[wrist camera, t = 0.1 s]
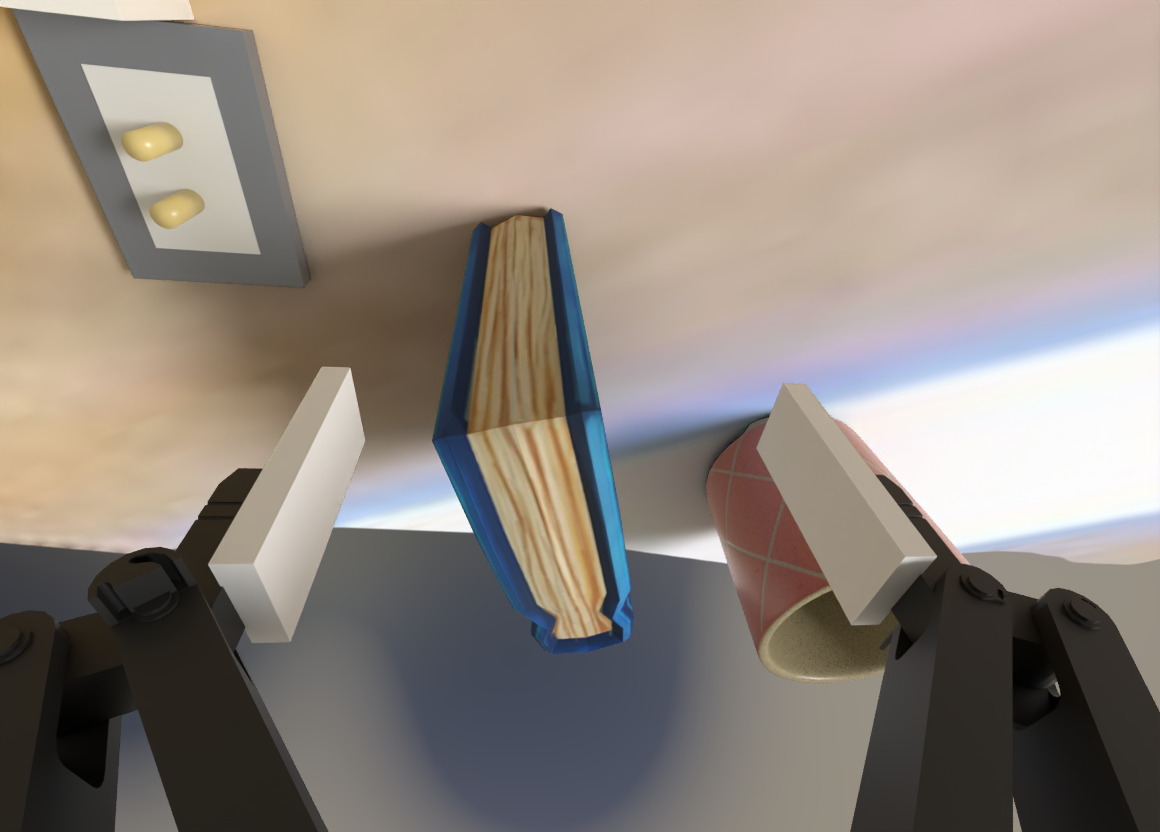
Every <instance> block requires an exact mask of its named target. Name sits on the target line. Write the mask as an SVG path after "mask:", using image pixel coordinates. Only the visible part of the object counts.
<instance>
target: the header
mask: <svg viewBox="0 0 1160 832" xmlns="http://www.w3.org/2000/svg"><path fill="white" fill-rule="evenodd" d="M11 9H12V11H13V13H14V16H15V18H16V20H17V22H18V24H19V27H20V29H21V31H22V33H23V35H24V38H25V40H26V42H27V44H28V46H29V49H30V51H31V53H32V55H33V57H34V60H35V62H36V64H37V66H38V68H39V71H40V73H41V75H42V77H43V79H44V82H45V84H46V86H47V88H48V91H49V93H50V95H51V97H52V99H53V102H54V104H55V106H56V108H57V110H58V113H59V115H60V117H61V119H62V121H63V124H64V126H65V128H66V130H67V132H68V135H69V137H70V139H71V141H72V143H73V146H74V148H75V150H76V152H77V154H78V157H79V159H80V161H81V163H82V165H83V168H84V170H85V172H86V174H87V176H88V179H89V181H90V183H91V185H92V188H93V190H94V192H95V194H96V196H97V199H98V201H99V203H100V205H101V207H102V210H103V212H104V214H105V216H106V218H107V221H108V223H109V225H110V227H111V229H112V232H113V234H114V236H115V238H116V240H117V243H118V245H119V247H120V249H121V251H122V254H123V256H124V258H125V260H126V262H127V265H128V267H129V269H130V271H131V274H132V276H133V278H139V279H157V280H175V281H192V282H210V283H228V284H246V285H264V286H282V287H299V288H304V287H305V286H306V285H307V284H308V282H309V281H310V275H309V271H308V267H307V262H306V258H305V254H304V249H303V245H302V241H301V236H300V232H299V228H298V224H297V219H296V215H295V211H294V206H293V202H292V198H291V193H290V189H289V185H288V180H287V176H286V172H285V168H284V163H283V159H282V155H281V150H280V146H279V142H278V137H277V133H276V129H275V124H274V120H273V116H272V112H271V107H270V103H269V99H268V94H267V90H266V86H265V81H264V77H263V73H262V68H261V64H260V60H259V56H258V51H257V47H256V43H255V38H254V34H253V30H244V29H235V28H227V27H218V26H210V25H201V24H192V23H184V22H175V21H167V20H139V21H120V20H111V19H103V18H94V17H85V16H77V15H68V14H59V13H50V12H42V11H33V10H24V9H16V8H11Z"/></svg>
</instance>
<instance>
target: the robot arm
mask: <svg viewBox="0 0 1160 832" xmlns="http://www.w3.org/2000/svg"><path fill="white" fill-rule="evenodd" d="M364 443H365V437H364V432H363V427H362V422H361V417H360V412H359V408H358V403H357V398H356V393H355V388H354V383H353V379H352V374H351V369H350V368H349V367H321V369H320V371H319V372H318V374H317V376H316V377H315V379H314V381H313V383H312V384H311V386H310V388H309V390H308V391H307V393H306V395H305V397H304V398H303V400H302V402H301V404H300V405H299V407H298V409H297V411H296V412H295V414H294V416H293V417H292V419H291V421H290V423H289V424H288V426H287V428H286V430H285V431H284V433H283V435H282V437H281V438H280V440H279V442H278V444H277V445H276V447H275V449H274V451H273V452H272V454H271V456H270V457H269V459H268V461H267V463H266V464H265V466H264V468H263V469H249V468H239V469H237V470H236V471H235V472H234V473H232V474H231V475H230V476H228V477H227V478H226V479H225V480H223V481H222V482H221V483H220V484H219V485H218V486H217V488H216V490H215V491H214V493H213V494H212V496H211V497H210V499H209V500H208V505H205V506H204V508H203V510H202V511H201V513H200V514H199V516H198V520H195V522H194V523H193V525H192V526H191V528H190V530H189V531H188V533H187V534H186V536H185V537H184V539H183V540H182V542H181V543H180V545H179V546H178V548H177V550H176V551H174V550H171V549H167V548H163V547H155V548H144V549H141V550H138V551H135V552H132V553H129V554H126V555H124V556H123V557H121V558H119V559H117V560H115V561H114V562H112V563H110V564H109V565H108V566H107V567H106V568H104V569H103V570H102V571H101V572H100V573H99V574H98V575H97V576H96V577H95V579H94V580H93V582H92V584H91V585H90V587H89V588H88V601H89V603H90V604H91V605H92V606H93V607H94V608H95V610H96V611H97V613H93V614H89V615H86V616H82V617H78V618H74V619H70V620H67V621H63V622H59V623H58V622H57V621H56V620H55V619H54V618H53V617H51V616H50V615H48V614H47V613H46V612H42V611H25V612H20V613H15V614H11V615H8V616H6V617H4V618H1V619H0V832H115V831H114V830H115V815H116V799H117V783H118V767H119V751H120V735H121V719H122V715H123V714H126V713H129V712H132V711H135V710H138V711H139V714H140V717H141V720H142V723H143V726H144V729H145V732H146V735H147V738H148V741H149V744H150V747H151V750H152V753H153V756H154V759H155V762H156V765H157V768H158V771H159V774H160V777H161V780H162V783H163V786H164V789H165V792H166V795H167V798H168V801H169V804H170V807H171V810H172V813H173V816H174V819H175V822H176V825H177V828H178V831H179V832H328V830H327V828H326V826H325V824H324V822H323V820H322V819H321V816H320V814H319V812H318V810H317V808H316V806H315V804H314V802H313V800H312V798H311V796H310V794H309V792H308V790H307V788H306V786H305V784H304V782H303V780H302V778H301V776H300V774H299V772H298V770H297V768H296V766H295V764H294V762H293V760H292V758H291V756H290V754H289V752H288V750H287V748H286V746H285V744H284V742H283V740H282V738H281V736H280V734H279V732H278V730H277V728H276V726H275V724H274V722H273V720H272V718H271V716H270V714H269V712H268V710H267V708H266V706H265V704H264V702H263V700H262V698H261V696H260V694H259V692H258V690H257V688H256V686H255V684H254V682H253V680H252V678H251V676H250V674H249V672H248V670H247V668H246V666H245V664H244V662H243V660H242V658H241V656H240V654H239V652H238V650H237V649H236V647H237V645H238V642H239V640H240V637H241V636H242V634H243V631H244V629H245V631H246V633H247V634H248V636H249V638H250V640H251V642H252V643H270V642H291V639H292V636H293V633H294V631H295V628H296V625H297V623H298V620H299V617H300V615H301V612H302V609H303V607H304V604H305V601H306V599H307V596H308V593H309V590H310V588H311V585H312V583H313V580H314V577H315V575H316V572H317V569H318V566H319V564H320V561H321V559H322V556H323V553H324V551H325V548H326V545H327V542H328V540H329V537H330V534H331V532H332V529H333V526H334V524H335V521H336V518H337V516H338V513H339V510H340V508H341V505H342V502H343V500H344V497H345V494H346V491H347V489H348V486H349V483H350V481H351V478H352V475H353V473H354V470H355V467H356V465H357V462H358V459H359V457H360V454H361V451H362V449H363V446H364ZM757 450H758V452H759V454H760V456H761V458H762V460H763V461H764V463H765V465H766V467H767V469H768V471H769V473H770V475H771V476H772V478H773V480H774V482H775V484H776V486H777V488H778V489H779V491H780V493H781V495H782V497H783V499H784V501H785V502H786V504H787V506H788V508H789V510H790V512H791V514H792V516H793V517H794V519H795V521H796V523H797V525H798V527H799V529H800V530H801V532H802V534H803V536H804V538H805V540H806V542H807V544H808V545H809V547H810V549H811V551H812V553H813V555H814V557H815V558H816V560H817V562H818V564H819V566H820V568H821V570H822V571H823V573H824V575H825V577H826V579H827V581H828V583H829V585H830V586H831V588H832V590H833V592H834V594H835V596H836V598H837V599H838V601H839V603H840V605H841V607H842V609H843V611H844V613H845V614H846V616H847V618H848V620H849V622H850V624H851V625H879V624H880V623H881V622H882V621H883V620H884V619H885V617H886V616H887V615H888V614H889V613H890V612H891V611H892V612H893V614H894V615H895V617H896V619H897V620H898V622H899V624H898V625H897V626H896V627H895V628H894V629H893V630H892V632H891V633H890V634H889V635H888V636H887V637H886V638H885V639H884V641H883V642H882V643H881V645H880V646H879V649H881V650H884V649H885V648H886V647H887V646H888V645H890V647H889V652H888V657H887V662H886V666H885V671H884V676H883V681H882V685H881V690H880V695H879V700H878V704H877V709H876V713H875V718H874V723H873V728H872V732H871V737H870V742H869V747H868V751H867V756H866V760H865V766H864V770H863V775H862V780H861V784H860V789H859V793H858V798H857V803H856V808H855V812H854V817H853V822H852V827H851V831H850V832H1013V798H1014V802H1015V805H1016V809H1017V813H1018V817H1019V821H1020V825H1021V829H1022V832H1160V712H1159V710H1158V708H1157V706H1156V704H1155V702H1154V700H1153V698H1152V696H1151V694H1150V692H1149V690H1148V688H1147V686H1146V684H1145V682H1144V680H1143V678H1142V676H1141V674H1140V672H1139V670H1138V668H1137V666H1136V664H1135V662H1134V660H1133V658H1132V657H1131V655H1130V652H1129V650H1128V648H1127V647H1126V645H1125V643H1124V641H1123V639H1122V637H1121V635H1120V633H1119V631H1118V629H1117V627H1116V625H1115V624H1114V622H1113V621H1112V620H1111V618H1110V617H1109V616H1108V615H1107V614H1106V613H1105V612H1104V611H1103V610H1102V609H1101V608H1100V607H1099V606H1098V605H1096V604H1095V603H1093V602H1092V601H1090V600H1089V599H1087V598H1086V597H1084V596H1082V595H1080V594H1078V593H1075V592H1073V591H1070V590H1066V589H1061V588H1056V589H1050V590H1049V591H1047V592H1046V593H1045V594H1044V595H1043V596H1042V597H1041V598H1040V599H1035V598H1031V597H1027V596H1024V595H1020V594H1016V593H1012V592H1008V591H1006V589H1005V588H1004V587H1003V585H1002V584H1000V582H998V581H997V580H996V579H995V578H994V577H993V576H991V575H990V574H988V573H986V572H985V571H983V570H981V569H980V568H977V567H974V566H971V565H968V564H961V563H960V561H959V560H958V559H957V558H956V556H955V555H954V554H953V553H952V551H951V550H950V549H949V548H948V546H947V545H946V544H945V543H944V541H943V540H942V539H941V538H940V536H939V535H938V534H937V533H936V531H935V530H934V529H933V528H932V526H931V525H930V524H929V523H928V521H927V520H926V519H923V515H922V514H921V512H920V511H919V510H918V509H917V507H916V506H913V502H912V501H911V500H910V499H909V497H908V496H907V495H906V494H905V492H904V491H903V490H902V489H901V488H900V487H899V486H898V485H896V484H895V483H894V482H893V481H891V480H890V479H889V478H887V477H886V476H885V475H875V474H874V473H873V472H872V470H871V469H870V468H869V466H868V465H867V464H866V462H865V461H864V460H863V458H862V457H861V456H860V455H859V453H858V452H857V451H856V449H855V448H854V447H853V445H852V444H851V443H850V441H849V440H848V439H847V437H846V436H845V435H844V434H843V432H842V431H841V430H840V428H839V427H838V426H837V424H836V423H835V422H834V420H833V419H832V418H831V417H830V415H829V414H828V413H827V411H826V410H825V409H824V407H823V406H822V405H821V403H820V402H819V401H818V399H817V398H816V397H815V396H814V394H813V393H812V392H811V390H810V389H809V388H808V386H807V385H806V384H793V383H783V385H782V387H781V390H780V392H779V394H778V397H777V399H776V402H775V404H774V407H773V409H772V411H771V414H770V416H769V419H768V421H767V423H766V426H765V428H764V431H763V433H762V436H761V438H760V440H759V443H758V445H757ZM1056 682H1058V684H1059V688H1060V694H1061V695H1059V693H1058V692H1057V689H1056V686H1055V683H1056Z"/></svg>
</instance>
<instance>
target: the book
mask: <svg viewBox="0 0 1160 832" xmlns="http://www.w3.org/2000/svg"><path fill="white" fill-rule="evenodd" d="M432 442H433V444H434V446H435V448H436V450H437V453H438V455H439V457H440V459H441V461H442V464H443V466H444V468H445V470H446V472H447V475H448V477H449V479H450V481H451V484H452V486H453V488H454V490H455V492H456V495H457V497H458V499H459V501H460V503H461V506H462V508H463V510H464V512H465V514H466V517H467V519H468V521H469V523H470V525H471V528H472V530H473V532H474V534H475V536H476V538H477V541H478V543H479V545H480V546H481V548H482V550H483V552H484V554H485V556H486V558H487V560H488V562H489V563H490V565H491V567H492V569H493V571H494V573H495V575H496V577H497V579H498V580H499V582H500V584H501V586H502V588H503V590H504V592H505V594H506V596H507V598H508V600H509V602H510V603H511V605H512V607H513V609H515V610H516V611H518V612H519V613H521V614H522V615H524V616H525V617H527V618H528V619H530V620H531V635H532V636H533V637H534V638H535V639H536V641H537V642H538V643H539V644H540V645H541V647H542V648H543V649H544V650H545V651H548V652H550V653H552V654H555V653H573V652H589V651H593V650H596V649H600V648H603V647H607V646H610V645H613V644H617V643H620V642H623V641H625V640H626V639H627V638H629V637H630V636H631V634H632V626H633V618H634V616H633V611H632V605H631V600H630V594H629V592H630V590H631V584H630V577H629V571H628V564H627V557H626V550H625V544H624V537H623V530H622V523H621V517H620V511H619V506H618V500H617V495H616V489H615V484H614V478H613V473H612V467H611V462H610V457H609V451H608V446H607V440H606V435H605V429H604V424H603V418H602V413H601V408H600V403H599V397H598V392H597V387H596V382H595V377H594V372H593V367H592V362H591V357H590V352H589V347H588V341H587V336H586V331H585V326H584V321H583V316H582V311H581V306H580V301H579V296H578V291H577V285H576V280H575V275H574V270H573V265H572V260H571V255H570V250H569V245H568V240H567V235H566V230H565V224H564V219H563V214H561V213H559V212H557V211H555V210H553V209H550V210H549V212H548V213H547V214H546V216H545V217H544V218H539V217H530V216H520V215H515V216H514V217H512V218H510V219H508V220H506V221H504V222H502V223H500V224H498V225H497V226H495V227H493V228H491V227H489V226H487V225H486V224H484V223H483V222H481V223H480V224H479V225H478V227H477V228H476V229H475V230H474V231H473V234H472V239H471V244H470V249H469V254H468V260H467V265H466V270H465V275H464V280H463V285H462V290H461V295H460V301H459V306H458V311H457V316H456V321H455V326H454V331H453V336H452V342H451V347H450V352H449V357H448V362H447V367H446V372H445V377H444V383H443V388H442V393H441V398H440V403H439V408H438V413H437V418H436V424H435V429H434V434H433V439H432Z"/></svg>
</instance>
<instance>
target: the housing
mask: <svg viewBox="0 0 1160 832" xmlns="http://www.w3.org/2000/svg"><path fill="white" fill-rule="evenodd" d="M0 7H7V8H16V9H24V10H33V11H42V12H50V13H59V14H68V15H77V16H85V17H94V18H103V19H111V20H120V21H139V20H194V17H193V13H192V10H191V6H190V3H189V0H0Z"/></svg>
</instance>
